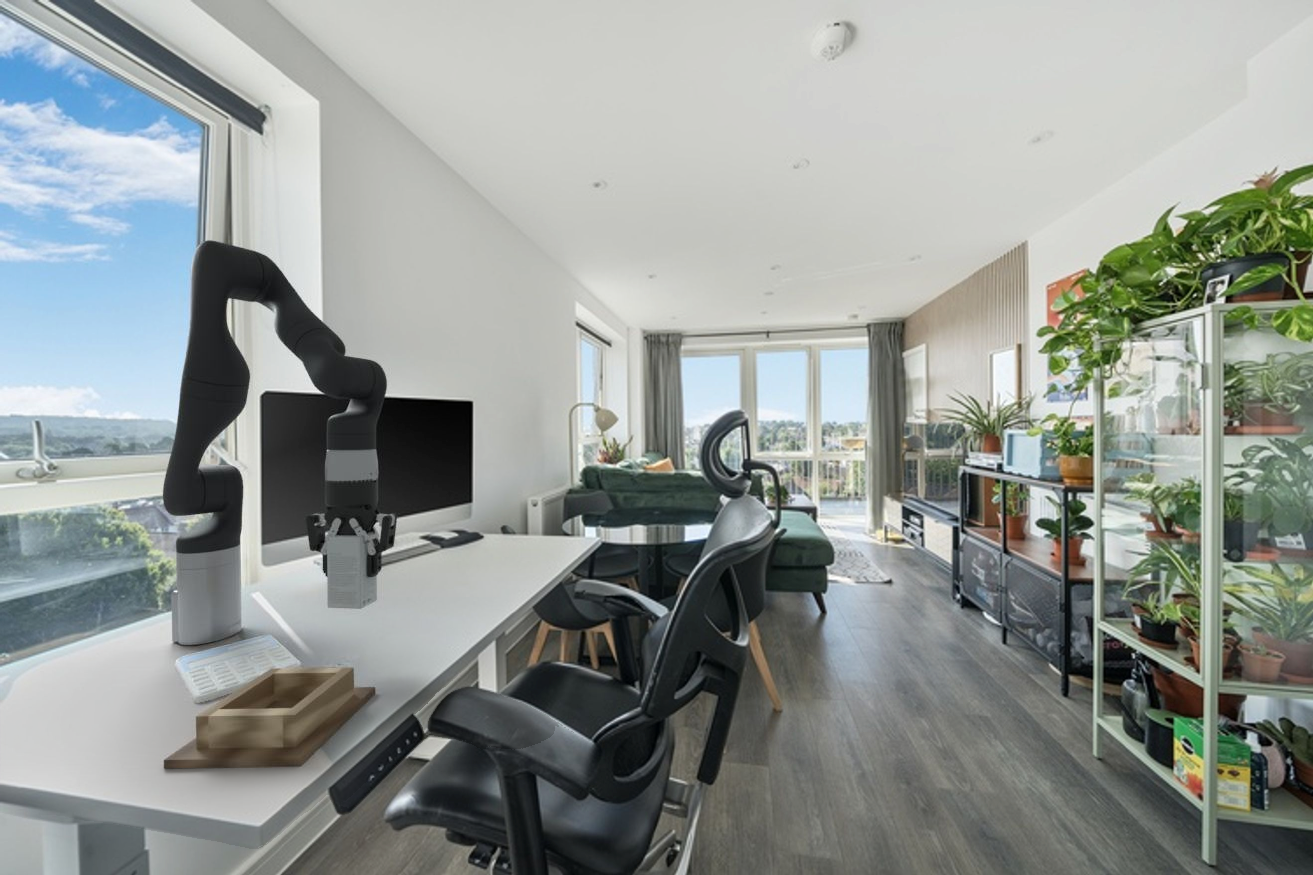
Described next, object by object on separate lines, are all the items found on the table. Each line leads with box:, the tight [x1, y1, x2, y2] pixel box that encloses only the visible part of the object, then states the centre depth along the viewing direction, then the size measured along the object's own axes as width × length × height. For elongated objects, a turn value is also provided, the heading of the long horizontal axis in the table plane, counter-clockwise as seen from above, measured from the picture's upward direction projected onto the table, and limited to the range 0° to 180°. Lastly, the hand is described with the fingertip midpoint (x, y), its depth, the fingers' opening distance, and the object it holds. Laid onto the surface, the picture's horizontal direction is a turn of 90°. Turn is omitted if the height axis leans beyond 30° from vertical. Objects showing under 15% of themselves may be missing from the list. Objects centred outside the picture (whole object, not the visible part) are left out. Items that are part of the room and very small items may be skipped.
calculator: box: [174, 634, 303, 704], centre depth 82 cm, size 13×20×2 cm, turn 51°
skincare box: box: [326, 532, 378, 610], centre depth 82 cm, size 6×4×12 cm
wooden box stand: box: [163, 667, 376, 769], centre depth 66 cm, size 16×16×5 cm
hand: (352, 575), depth 82 cm, fingers closed on skincare box, 6 cm apart
